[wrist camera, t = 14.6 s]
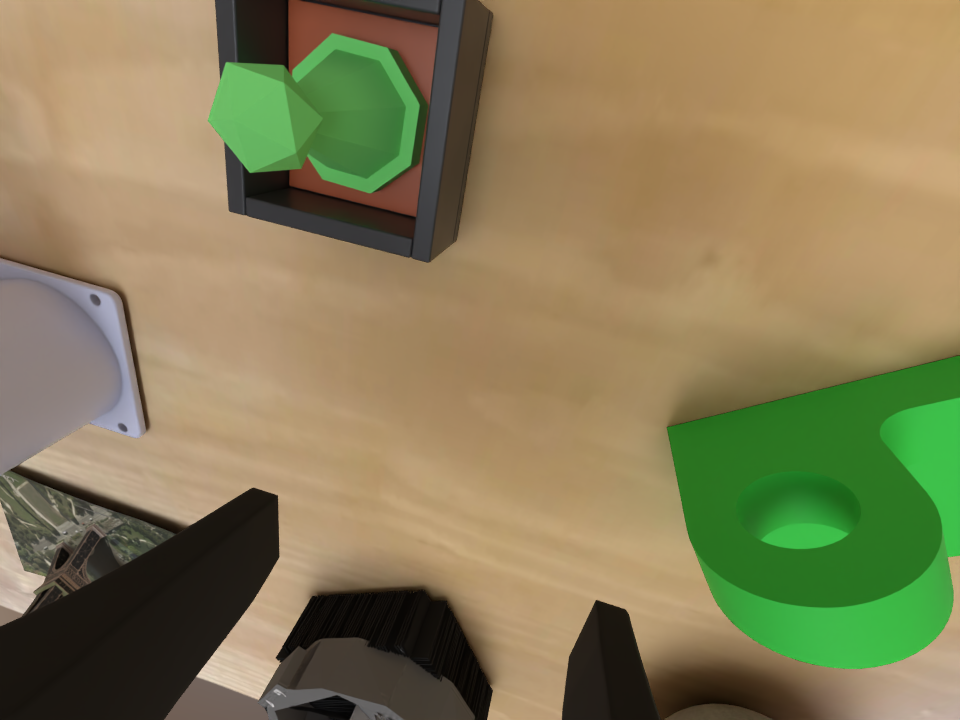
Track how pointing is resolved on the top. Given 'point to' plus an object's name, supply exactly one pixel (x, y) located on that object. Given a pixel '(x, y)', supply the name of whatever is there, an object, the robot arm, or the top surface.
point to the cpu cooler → (377, 662)
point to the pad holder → (448, 129)
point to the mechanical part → (831, 515)
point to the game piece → (325, 114)
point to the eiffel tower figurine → (69, 537)
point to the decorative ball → (717, 713)
